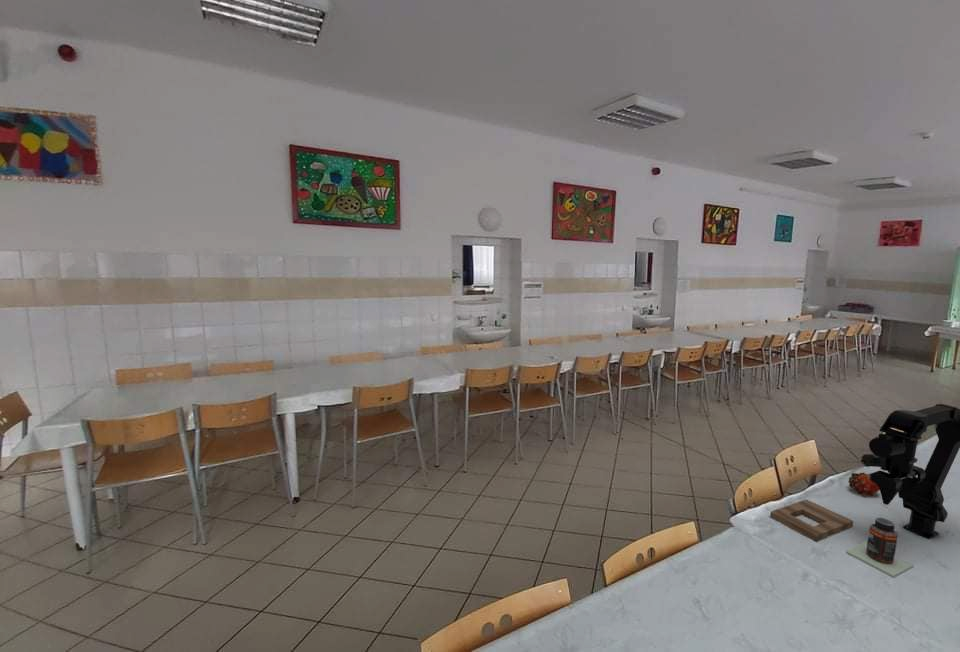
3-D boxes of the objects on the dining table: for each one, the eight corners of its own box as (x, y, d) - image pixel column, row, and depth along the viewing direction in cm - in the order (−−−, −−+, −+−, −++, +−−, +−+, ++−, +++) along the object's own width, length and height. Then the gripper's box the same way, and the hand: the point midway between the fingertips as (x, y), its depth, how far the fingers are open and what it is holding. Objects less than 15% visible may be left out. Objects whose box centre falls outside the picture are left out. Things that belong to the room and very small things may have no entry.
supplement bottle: (898, 561, 122) (904, 525, 121) (886, 566, 120) (892, 529, 118) (872, 548, 128) (878, 513, 126) (861, 553, 125) (866, 517, 124)
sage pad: (866, 543, 131) (866, 541, 131) (913, 566, 121) (913, 564, 121) (845, 552, 127) (846, 550, 126) (893, 577, 117) (893, 575, 117)
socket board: (805, 504, 152) (806, 499, 152) (852, 526, 140) (853, 521, 139) (770, 517, 144) (770, 511, 144) (816, 541, 131) (817, 535, 131)
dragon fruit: (848, 497, 160) (869, 497, 164) (872, 494, 153) (894, 495, 157) (838, 474, 164) (859, 474, 168) (861, 470, 157) (883, 470, 161)
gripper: (884, 438, 140) (876, 482, 142) (852, 447, 132) (845, 494, 135) (930, 452, 130) (921, 499, 132) (899, 462, 122) (890, 513, 125)
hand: (893, 501), depth 131 cm, fingers open, 9 cm apart
